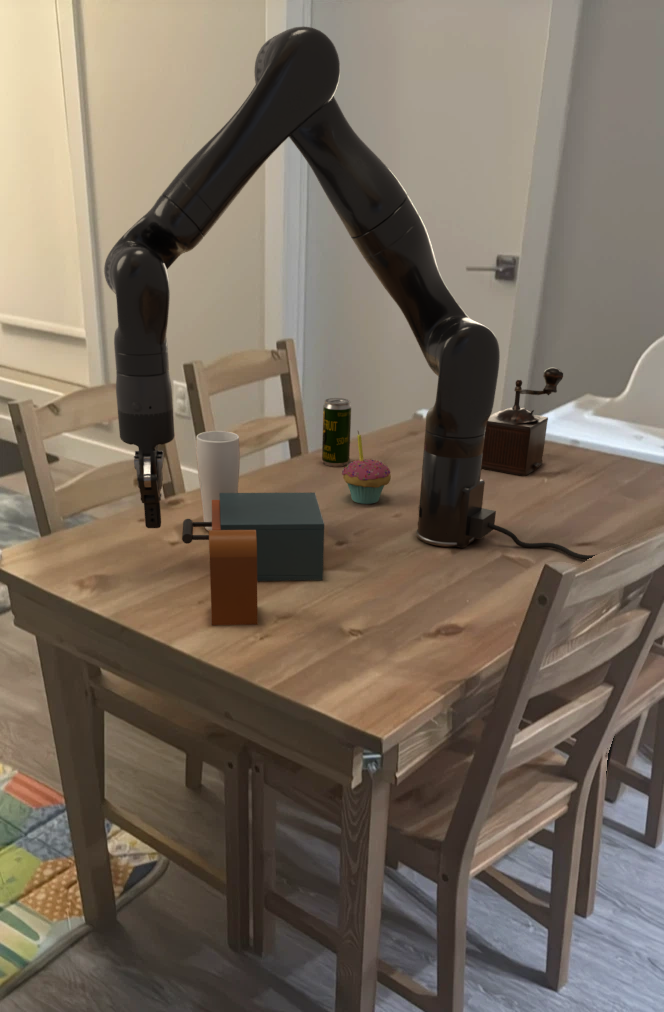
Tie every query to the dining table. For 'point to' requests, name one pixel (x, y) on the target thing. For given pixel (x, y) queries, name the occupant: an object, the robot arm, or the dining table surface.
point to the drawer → (202, 525)
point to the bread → (233, 576)
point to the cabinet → (279, 532)
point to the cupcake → (366, 478)
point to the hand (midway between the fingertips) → (153, 526)
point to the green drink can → (336, 432)
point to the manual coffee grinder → (518, 433)
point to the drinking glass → (217, 467)
